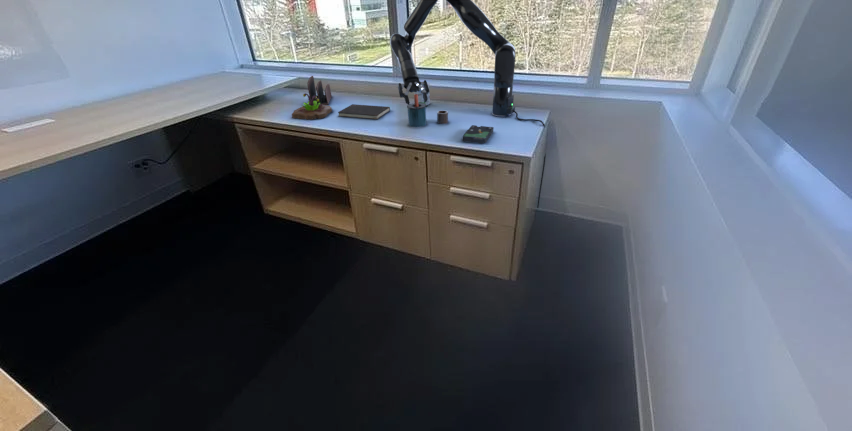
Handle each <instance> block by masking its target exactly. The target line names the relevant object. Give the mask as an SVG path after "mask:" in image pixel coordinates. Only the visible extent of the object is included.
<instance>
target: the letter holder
mask: <svg viewBox="0 0 852 431" xmlns="http://www.w3.org/2000/svg"><path fill="white" fill-rule="evenodd" d="M307 91H308V95H309V96H310V99H311V100H312V97H313V96H316V97H317V98H318V99H319V101H317V99H314V100H313V101H317V104H318V103H320V105H325V106H329V104H330V101H331V100H332V96H333V95H332V91H331V86H330V83H327V84H326V85H325V89H324V88H323V82H322V80H321V79H319V81H318V82H317V84H316V83H315V77H314V75H310V77H309V78H308V81H307ZM317 104H316V105H317Z"/></svg>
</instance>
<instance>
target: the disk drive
mask: <svg viewBox="0 0 852 431" xmlns="http://www.w3.org/2000/svg"><path fill="white" fill-rule="evenodd" d="M494 129H495V128H494V127H493V126H484V125H481V126H478V125H475V124H474V125H473V124H472V125H470V127H469V128H468V129H467V130H466V131H465V133H463V135H462V138H461V139H462V142H466V143H474V144H475V143H476V144H486V143H487V142H488V141H489V139H490V138H491V136H492V135H493V133H494Z"/></svg>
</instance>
